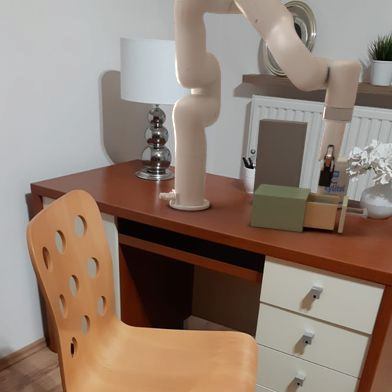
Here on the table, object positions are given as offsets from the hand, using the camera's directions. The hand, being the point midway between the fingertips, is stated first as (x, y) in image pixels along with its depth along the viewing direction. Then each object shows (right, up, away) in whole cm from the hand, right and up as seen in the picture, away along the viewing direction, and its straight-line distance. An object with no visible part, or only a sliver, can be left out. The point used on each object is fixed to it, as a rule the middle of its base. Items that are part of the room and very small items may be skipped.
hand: (325, 182), depth 143 cm
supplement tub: (+8, +1, +28) cm, 29 cm away
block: (0, -9, +5) cm, 11 cm away
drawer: (+2, -11, +5) cm, 12 cm away
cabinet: (-11, -9, +9) cm, 17 cm away
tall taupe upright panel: (-10, +1, +26) cm, 28 cm away
